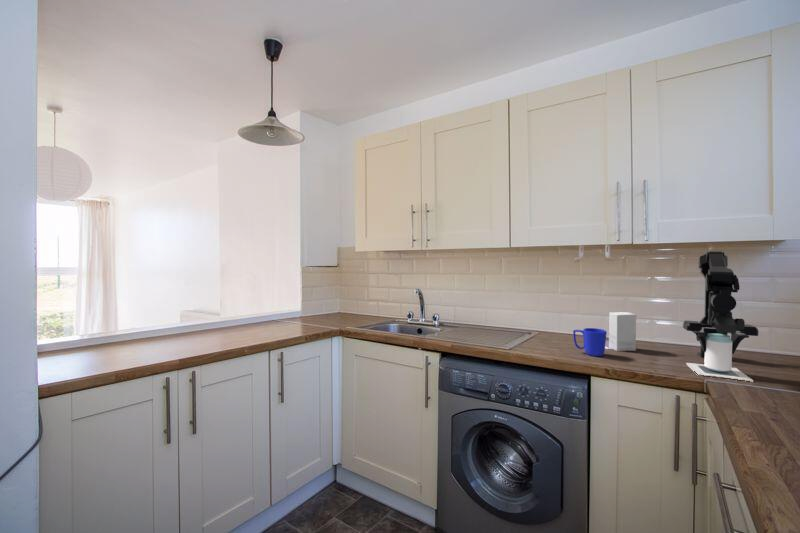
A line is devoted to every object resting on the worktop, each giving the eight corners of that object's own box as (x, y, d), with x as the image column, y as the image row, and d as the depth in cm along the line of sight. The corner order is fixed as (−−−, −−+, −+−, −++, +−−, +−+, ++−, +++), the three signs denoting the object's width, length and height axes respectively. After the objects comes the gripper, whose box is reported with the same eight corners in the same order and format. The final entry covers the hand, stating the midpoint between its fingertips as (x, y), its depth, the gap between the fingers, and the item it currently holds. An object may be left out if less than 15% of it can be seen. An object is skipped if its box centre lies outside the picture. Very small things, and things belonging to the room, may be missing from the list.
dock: (686, 364, 134) (686, 362, 134) (735, 369, 128) (735, 367, 128) (698, 375, 122) (698, 373, 122) (753, 382, 116) (753, 380, 116)
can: (732, 374, 120) (733, 338, 119) (704, 370, 124) (706, 335, 124) (729, 368, 126) (731, 334, 125) (703, 364, 130) (704, 331, 129)
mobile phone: (606, 347, 156) (596, 339, 170) (606, 349, 156) (596, 341, 170) (626, 348, 154) (614, 340, 168) (626, 350, 154) (614, 342, 168)
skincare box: (627, 347, 158) (628, 311, 158) (636, 351, 152) (637, 314, 151) (607, 347, 158) (608, 311, 158) (616, 351, 152) (617, 314, 151)
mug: (574, 349, 155) (575, 326, 154) (607, 353, 148) (607, 329, 148) (571, 353, 148) (571, 329, 148) (604, 358, 141) (605, 333, 141)
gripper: (692, 309, 121) (691, 355, 121) (767, 313, 113) (765, 362, 113) (683, 304, 131) (682, 347, 132) (751, 308, 123) (749, 353, 123)
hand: (718, 352), depth 125 cm, fingers closed on can, 7 cm apart
